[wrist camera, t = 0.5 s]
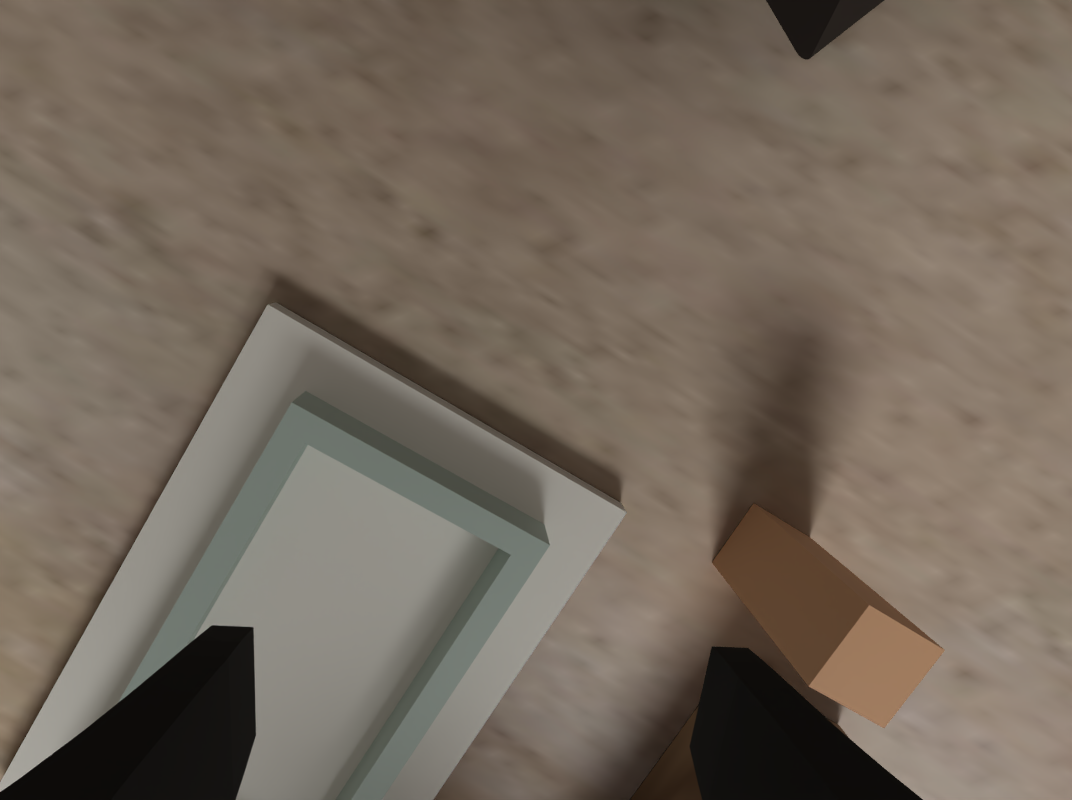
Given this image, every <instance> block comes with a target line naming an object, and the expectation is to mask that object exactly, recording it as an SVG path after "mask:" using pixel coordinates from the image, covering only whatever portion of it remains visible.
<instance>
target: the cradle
mask: <svg viewBox="0 0 1072 800" xmlns="http://www.w3.org/2000/svg"><path fill="white" fill-rule="evenodd" d="M626 513H627V512H626V510H625V508H624V507H623V505H622V503H620V502H619V501H617V500H615V499H613V498H612V497H610V496H608V495H607V494H605V493H603V492H601V491H600V490H598V489H596V488H594V487H593V486H591V485H589V484H588V483H586V482H584V481H582V480H581V479H579V478H577V477H576V476H574V475H572V474H570V473H569V472H567V471H565V470H564V469H562V468H560V467H558V466H557V465H555V464H553V463H551V462H550V461H548V460H546V459H545V458H543V457H541V456H539V455H538V454H536V453H534V452H533V451H531V450H529V449H527V448H526V447H524V446H522V445H521V444H519V443H517V442H515V441H514V440H512V439H510V438H508V437H507V436H505V435H503V434H502V433H500V432H498V431H496V430H495V429H493V428H491V427H490V426H488V425H486V424H484V423H483V422H481V421H479V420H478V419H476V418H474V417H472V416H471V415H469V414H467V413H465V412H464V411H462V410H460V409H459V408H457V407H455V406H453V405H452V404H450V403H448V402H447V401H445V400H443V399H441V398H440V397H438V396H436V395H435V394H433V393H431V392H429V391H428V390H426V389H424V388H422V387H421V386H419V385H417V384H416V383H414V382H412V381H410V380H409V379H407V378H405V377H404V376H402V375H400V374H398V373H397V372H395V371H393V370H392V369H390V368H388V367H386V366H385V365H383V364H381V363H380V362H378V361H376V360H374V359H373V358H371V357H369V356H367V355H366V354H364V353H362V352H361V351H359V350H357V349H355V348H354V347H352V346H350V345H349V344H347V343H345V342H343V341H342V340H340V339H338V338H337V337H335V336H333V335H331V334H330V333H328V332H326V331H324V330H323V329H321V328H319V327H318V326H316V325H314V324H312V323H311V322H309V321H307V320H306V319H304V318H302V317H300V316H299V315H297V314H295V313H294V312H292V311H290V310H288V309H287V308H285V307H283V306H281V305H280V304H278V303H276V302H275V303H271V304H268V305H267V306H266V308H265V310H264V312H263V314H262V315H261V317H260V319H259V321H258V322H257V324H256V326H255V328H254V330H253V331H252V333H251V335H250V337H249V339H248V340H247V342H246V344H245V346H244V348H243V349H242V351H241V353H240V355H239V356H238V358H237V360H236V362H235V364H234V365H233V367H232V369H231V371H230V373H229V374H228V376H227V378H226V380H225V381H224V383H223V385H222V387H221V389H220V390H219V392H218V394H217V396H216V398H215V399H214V401H213V403H212V405H211V407H210V408H209V410H208V412H207V414H206V415H205V417H204V419H203V421H202V423H201V424H200V426H199V428H198V430H197V432H196V433H195V435H194V437H193V439H192V440H191V442H190V444H189V446H188V448H187V449H186V451H185V453H184V455H183V457H182V458H181V460H180V462H179V464H178V466H177V467H176V469H175V471H174V473H173V474H172V476H171V478H170V480H169V482H168V483H167V485H166V487H165V489H164V491H163V492H162V494H161V496H160V498H159V499H158V501H157V503H156V505H155V507H154V508H153V510H152V512H151V514H150V516H149V517H148V519H147V521H146V523H145V525H144V526H143V528H142V530H141V532H140V533H139V535H138V537H137V539H136V541H135V542H134V544H133V546H132V548H131V550H130V551H129V553H128V555H127V557H126V558H125V560H124V562H123V564H122V566H121V567H120V569H119V571H118V573H117V575H116V576H115V578H114V580H113V582H112V584H111V585H110V587H109V589H108V591H107V592H106V594H105V596H104V598H103V600H102V601H101V603H100V605H99V607H98V609H97V610H96V612H95V614H94V616H93V617H92V619H91V621H90V623H89V625H88V626H87V628H86V630H85V632H84V634H83V635H82V637H81V639H80V641H79V643H78V644H77V646H76V648H75V650H74V651H73V653H72V655H71V657H70V659H69V660H68V662H67V664H66V666H65V668H64V669H63V671H62V673H61V675H60V676H59V678H58V680H57V682H56V684H55V685H54V687H53V689H52V691H51V693H50V694H49V696H48V698H47V700H46V702H45V703H44V705H43V707H42V709H41V710H40V712H39V714H38V716H37V718H36V719H35V721H34V723H33V725H32V727H31V728H30V730H29V732H28V734H27V735H26V737H25V739H24V741H23V743H22V744H21V746H20V748H19V750H18V752H17V753H16V755H15V757H14V759H13V761H12V762H11V764H10V766H9V768H8V769H7V771H6V773H5V775H4V777H3V778H2V780H1V782H0V792H1V791H2V790H4V789H5V788H7V787H8V786H9V785H11V784H12V783H14V782H15V781H17V780H18V779H19V778H21V777H22V776H23V775H25V774H26V773H27V772H29V771H30V770H32V769H33V768H34V767H36V766H37V765H38V764H40V763H41V762H42V761H44V760H45V759H46V758H48V757H49V756H50V755H52V754H53V753H54V752H56V751H57V750H58V749H60V748H61V747H62V746H64V745H65V744H66V743H68V742H69V741H70V740H72V739H73V738H74V737H76V736H77V735H78V734H80V733H81V732H82V731H83V730H85V729H86V728H87V727H89V726H90V725H91V724H92V723H94V722H95V721H96V720H97V719H99V718H100V717H101V716H102V715H103V714H105V713H106V712H107V711H108V710H110V709H111V708H112V707H113V706H115V705H116V704H117V703H118V702H120V701H121V700H122V699H123V698H125V697H126V696H127V695H128V694H130V693H131V692H132V691H133V690H134V689H136V688H137V687H138V686H139V685H140V684H142V683H143V682H144V681H145V680H146V679H148V678H149V677H150V676H151V675H152V674H154V673H155V672H156V671H157V670H158V669H160V668H161V667H162V666H163V665H164V664H166V663H167V662H168V661H169V660H170V659H171V658H173V657H174V656H175V655H176V654H177V653H179V652H180V651H181V650H182V649H183V648H185V647H186V646H187V645H188V644H189V643H190V642H192V641H193V640H194V639H195V638H197V637H198V636H199V635H200V634H202V633H203V632H204V631H205V630H207V629H208V628H209V627H210V626H212V625H218V626H242V627H254V669H255V712H256V737H255V740H254V743H253V747H252V750H251V753H250V756H249V760H248V763H247V766H246V769H245V773H244V776H243V779H242V782H241V785H240V788H239V791H238V794H237V797H236V800H433V799H434V798H435V797H436V795H437V794H438V792H439V791H440V789H441V788H442V786H443V785H444V783H445V782H446V780H447V779H448V777H449V776H450V774H451V773H452V771H453V770H454V768H455V767H456V765H457V764H458V762H459V761H460V759H461V758H462V756H463V755H464V754H465V752H466V751H467V749H468V748H469V746H470V745H471V743H472V742H473V740H474V739H475V737H476V736H477V734H478V733H479V731H480V730H481V728H482V727H483V725H484V724H485V722H486V721H487V719H488V718H489V716H490V715H491V713H492V712H493V711H494V709H495V708H496V706H497V705H498V703H499V702H500V700H501V699H502V697H503V696H504V694H505V693H506V691H507V690H508V688H509V687H510V685H511V684H512V682H513V681H514V679H515V678H516V676H517V675H518V673H519V672H520V670H521V669H522V667H523V666H524V665H525V663H526V662H527V660H528V659H529V657H530V656H531V654H532V653H533V651H534V650H535V648H536V647H537V645H538V644H539V642H540V641H541V639H542V638H543V636H544V635H545V633H546V632H547V630H548V629H549V627H550V626H551V624H552V623H553V622H554V620H555V619H556V617H557V616H558V614H559V613H560V611H561V610H562V608H563V607H564V605H565V604H566V602H567V601H568V599H569V598H570V596H571V595H572V593H573V592H574V590H575V589H576V587H577V586H578V584H579V583H580V581H581V580H582V579H583V577H584V576H585V574H586V573H587V571H588V570H589V568H590V567H591V565H592V564H593V562H594V561H595V559H596V558H597V556H598V555H599V553H600V552H601V550H602V549H603V547H604V546H605V544H606V543H607V541H608V540H609V538H610V537H611V536H612V534H613V533H614V531H615V530H616V528H617V527H618V525H619V524H620V522H621V521H622V519H623V518H624V516H625V515H626Z"/></svg>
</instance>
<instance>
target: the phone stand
mask: <svg viewBox="0 0 1072 800" xmlns="http://www.w3.org/2000/svg"><path fill="white" fill-rule="evenodd" d="M766 1H767V2H768V4H769V6H770V8H771V9H772V11H773V13H774V14H775V16H776V18H777V20H778V21H779V23H780V25H781V26H782V28H783V30H784V31H785V33H786V35H787V37H788V38H789V40H790V42H791V43H792V45H793V47H794V49H795V50H796V52H797V53H798V55H799V56H800V57H802V58H803V59H810V58H811V57H812V56H813V55H815V54H816V53H817V52H819V51H820V50H821V49H822V48H824V47H825V46H826V45H828V44H829V43H830V42H831V41H833V40H834V39H835V38H836V37H838V36H839V35H840V34H842V33H843V32H844V31H845V30H847V29H848V28H849V27H851V26H852V25H853V24H854V23H856V22H857V21H858V20H860V19H861V18H862V17H863V16H865V15H866V14H867V13H868V12H870V11H871V10H872V9H874V8H875V7H876V6H877V5H879V4H880V3H881V2H883V1H884V0H766Z"/></svg>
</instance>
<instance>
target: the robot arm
mask: <svg viewBox="0 0 1072 800" xmlns="http://www.w3.org/2000/svg"><path fill="white" fill-rule="evenodd" d="M255 737H256V712H255V669H254V627H242V626H218V625H212V626H210V627H209V628H208V629H207V630H205V631H204V632H203V633H202V634H200V635H199V636H198V637H197V638H195V639H194V640H193V641H192V642H190V643H189V644H188V645H187V646H186V647H185V648H183V649H182V650H181V651H180V652H179V653H177V654H176V655H175V656H174V657H173V658H171V659H170V660H169V661H168V662H167V663H166V664H164V665H163V666H162V667H161V668H160V669H158V670H157V671H156V672H155V673H154V674H152V675H151V676H150V677H149V678H148V679H146V680H145V681H144V682H143V683H142V684H140V685H139V686H138V687H137V688H136V689H134V690H133V691H132V692H131V693H130V694H128V695H127V696H126V697H125V698H123V699H122V700H121V701H120V702H118V703H117V704H116V705H115V706H113V707H112V708H111V709H110V710H108V711H107V712H106V713H105V714H103V715H102V716H101V717H100V718H99V719H97V720H96V721H95V722H94V723H92V724H91V725H90V726H89V727H87V728H86V729H85V730H83V731H82V732H81V733H80V734H78V735H77V736H76V737H74V738H73V739H72V740H70V741H69V742H68V743H66V744H65V745H64V746H62V747H61V748H60V749H58V750H57V751H56V752H54V753H53V754H52V755H50V756H49V757H48V758H46V759H45V760H44V761H42V762H41V763H40V764H38V765H37V766H36V767H34V768H33V769H32V770H30V771H29V772H27V773H26V774H25V775H23V776H22V777H21V778H19V779H18V780H17V781H15V782H14V783H12V784H11V785H9V786H8V787H7V788H5V789H4V790H2V791H1V792H0V800H236V797H237V794H238V791H239V788H240V785H241V782H242V779H243V776H244V773H245V769H246V766H247V763H248V760H249V756H250V753H251V750H252V747H253V743H254V740H255ZM689 747H690V751H691V755H692V760H693V764H694V769H695V773H696V777H697V782H698V786H699V790H700V793H701V797H702V800H923V799H921V798H920V797H919V796H918V795H916V794H915V793H914V792H913V791H911V790H910V789H909V788H908V787H907V786H905V785H904V784H903V783H902V782H900V781H899V780H898V779H897V778H895V777H894V776H893V775H892V774H890V773H889V772H888V771H887V770H886V769H884V768H883V767H882V766H881V765H880V764H878V763H877V762H876V761H875V760H874V759H873V758H871V757H870V756H869V755H868V754H867V753H865V752H864V751H863V750H862V749H861V748H860V747H858V746H857V745H856V744H855V743H854V742H853V741H852V740H850V739H849V738H848V737H847V736H846V735H845V734H844V733H843V732H841V731H840V730H839V729H838V728H837V727H836V726H835V725H833V724H832V723H831V722H830V721H829V720H828V719H827V718H826V717H825V716H823V715H822V714H821V713H820V712H819V711H818V710H817V709H816V708H815V707H813V706H812V705H811V704H810V703H809V702H808V701H807V700H806V699H805V698H804V697H803V696H801V695H800V694H799V693H798V692H797V691H796V690H795V689H794V688H793V687H792V686H790V685H789V684H788V683H787V682H786V681H785V680H784V679H783V678H782V677H781V676H780V675H778V674H777V673H776V672H775V671H774V670H773V669H772V668H771V667H770V666H768V665H767V664H766V663H765V662H764V661H763V660H762V659H760V658H759V657H758V656H757V655H756V654H755V653H753V652H752V651H751V650H750V649H748V648H735V647H712V649H711V653H710V657H709V662H708V666H707V671H706V675H705V680H704V684H703V688H702V693H701V697H700V702H699V706H698V711H697V715H696V720H695V724H694V728H693V733H692V737H691V742H690V746H689Z"/></svg>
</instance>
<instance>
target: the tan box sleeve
mask: <svg viewBox="0 0 1072 800" xmlns="http://www.w3.org/2000/svg"><path fill="white" fill-rule="evenodd" d="M697 711H698V707H697V709H696V710H695V711H694V713H693V714H692V715H691V717H690V718H689V720H688V721H687V722H686V724H685V725H684V726H683V728H682V729H681V731H680V732H679V733H678V735H677V736H676V737H675V739H674V740H673V742H672V743H671V744H670V746H669V747H668V749H667V750H666V751H665V753H664V754H663V755H662V757H661V758H660V760H659V761H658V762H657V764H656V765H655V766H654V768H653V769H652V771H651V772H650V773H649V775H648V776H647V777H646V779H645V780H644V782H643V783H642V784H641V786H640V787H639V788H638V790H637V791H636V793H635V794H634V795H633V797H632V798H631V800H702V797H701V793H700V790H699V786H698V782H697V777H696V773H695V769H694V764H693V760H692V755H691V751H690V747H689V746H690V742H691V737H692V733H693V728H694V724H695V720H696V715H697ZM828 720H829V719H828ZM829 721H830V722H831V723H832V724H833V725H835V726H836V727H837V728H838V729H839V730H840V731H841V732H843V733H844V734H845V732H844V731H843V730H842V729H841V727H840V726H839V725H838V724H836V723H834V722H833V721H831V720H829ZM845 735H846V734H845ZM846 736H847V735H846ZM847 737H848V736H847Z"/></svg>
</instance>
